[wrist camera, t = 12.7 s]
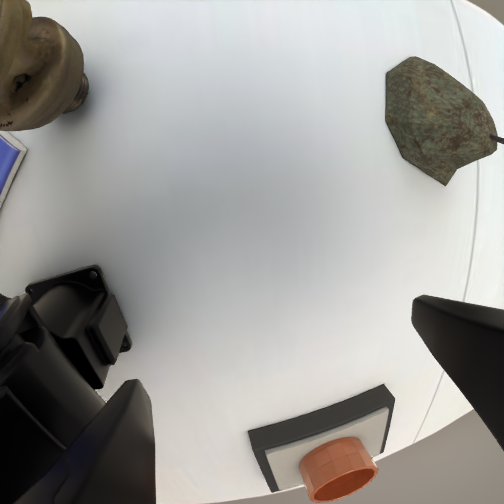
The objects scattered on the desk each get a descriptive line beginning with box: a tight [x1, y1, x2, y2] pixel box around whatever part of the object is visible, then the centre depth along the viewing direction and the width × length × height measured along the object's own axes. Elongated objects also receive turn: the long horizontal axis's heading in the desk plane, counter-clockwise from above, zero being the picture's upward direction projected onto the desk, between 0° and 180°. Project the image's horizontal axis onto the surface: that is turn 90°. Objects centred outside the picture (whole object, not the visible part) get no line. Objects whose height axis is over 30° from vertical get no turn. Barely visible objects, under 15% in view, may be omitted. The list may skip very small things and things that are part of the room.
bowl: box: [299, 437, 378, 503], centre depth 22 cm, size 7×7×4 cm
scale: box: [248, 384, 395, 492], centre depth 26 cm, size 14×11×3 cm
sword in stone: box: [386, 57, 504, 186], centre depth 13 cm, size 10×8×12 cm
